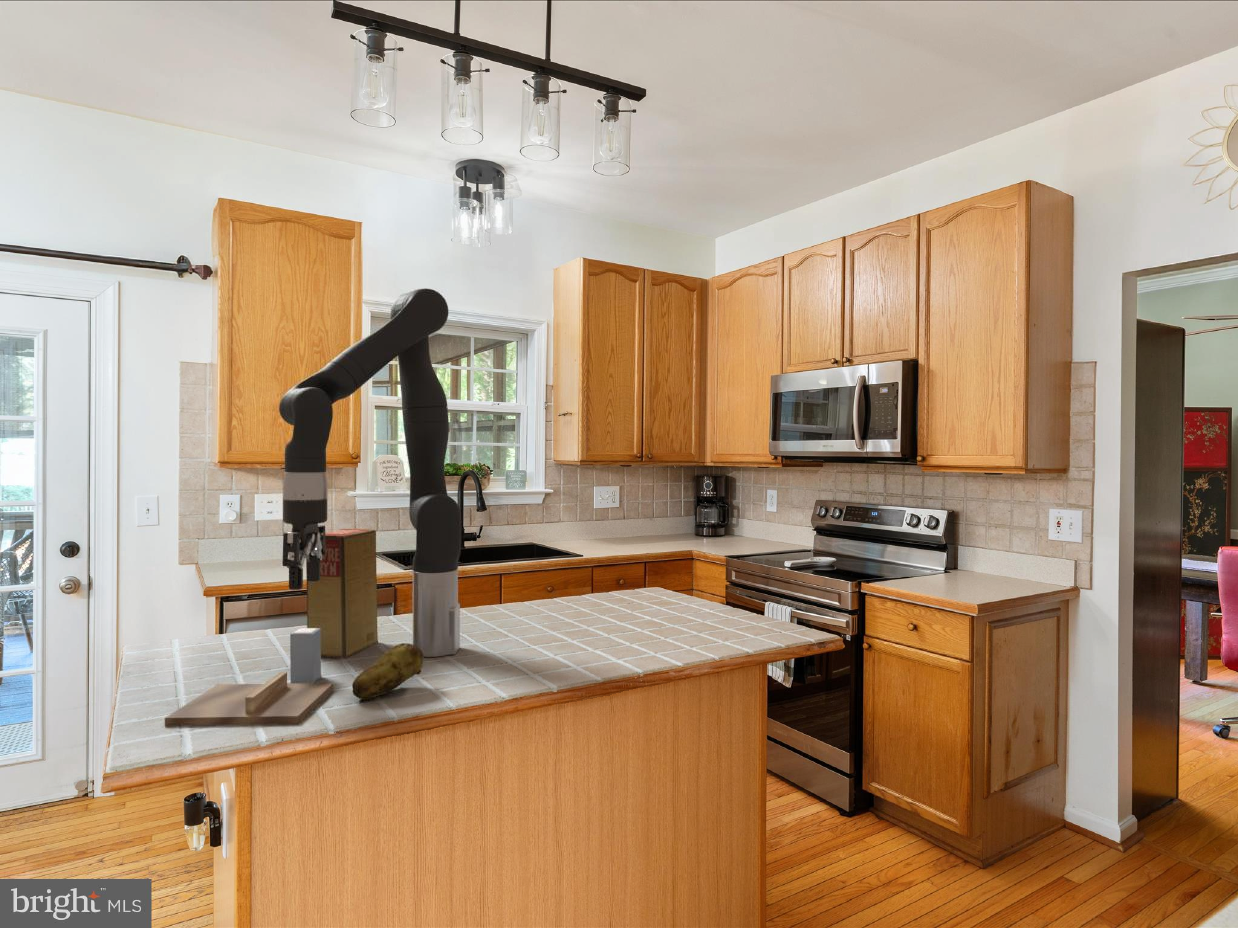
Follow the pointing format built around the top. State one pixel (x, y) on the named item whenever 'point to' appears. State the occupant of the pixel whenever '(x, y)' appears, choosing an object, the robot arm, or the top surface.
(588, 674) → the top surface
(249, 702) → the board
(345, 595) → the food packaging
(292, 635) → the block
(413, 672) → the potato
